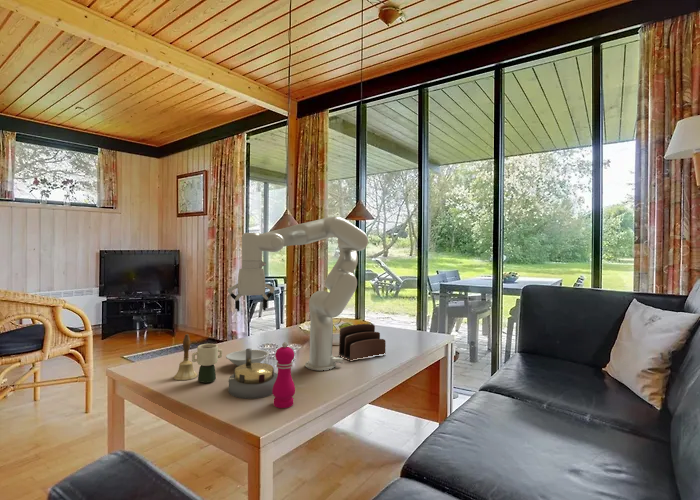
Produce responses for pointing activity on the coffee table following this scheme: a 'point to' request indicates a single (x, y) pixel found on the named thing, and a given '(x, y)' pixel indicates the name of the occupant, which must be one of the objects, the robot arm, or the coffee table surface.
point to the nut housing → (251, 388)
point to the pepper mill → (284, 378)
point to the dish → (240, 356)
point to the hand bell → (186, 363)
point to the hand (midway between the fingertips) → (251, 310)
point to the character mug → (207, 361)
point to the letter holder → (360, 341)
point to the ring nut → (253, 371)
